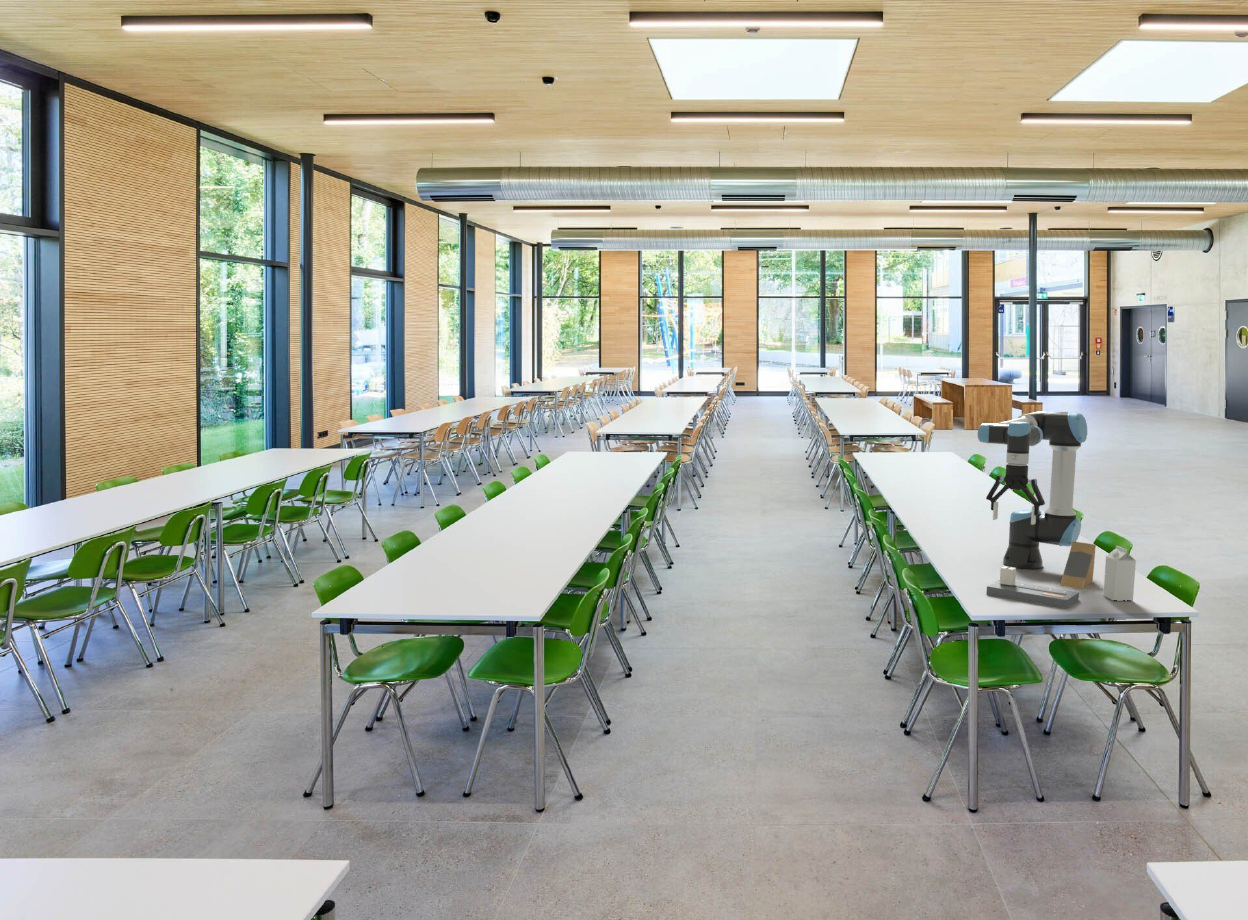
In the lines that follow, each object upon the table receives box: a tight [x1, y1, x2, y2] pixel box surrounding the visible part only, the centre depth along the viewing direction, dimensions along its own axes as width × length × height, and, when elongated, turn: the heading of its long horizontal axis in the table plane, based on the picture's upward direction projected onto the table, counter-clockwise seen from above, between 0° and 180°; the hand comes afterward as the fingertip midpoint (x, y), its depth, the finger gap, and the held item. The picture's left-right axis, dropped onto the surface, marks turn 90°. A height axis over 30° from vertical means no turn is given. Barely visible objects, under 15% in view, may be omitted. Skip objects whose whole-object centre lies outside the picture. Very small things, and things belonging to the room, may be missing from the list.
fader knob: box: [999, 565, 1017, 586], centre depth 349 cm, size 4×4×6 cm
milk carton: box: [1103, 545, 1137, 602], centre depth 341 cm, size 7×7×19 cm
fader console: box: [986, 579, 1080, 609], centre depth 344 cm, size 14×28×3 cm, turn 48°
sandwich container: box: [1059, 541, 1097, 590], centre depth 363 cm, size 9×15×15 cm, turn 140°
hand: (1013, 521), depth 346 cm, fingers open, 13 cm apart
